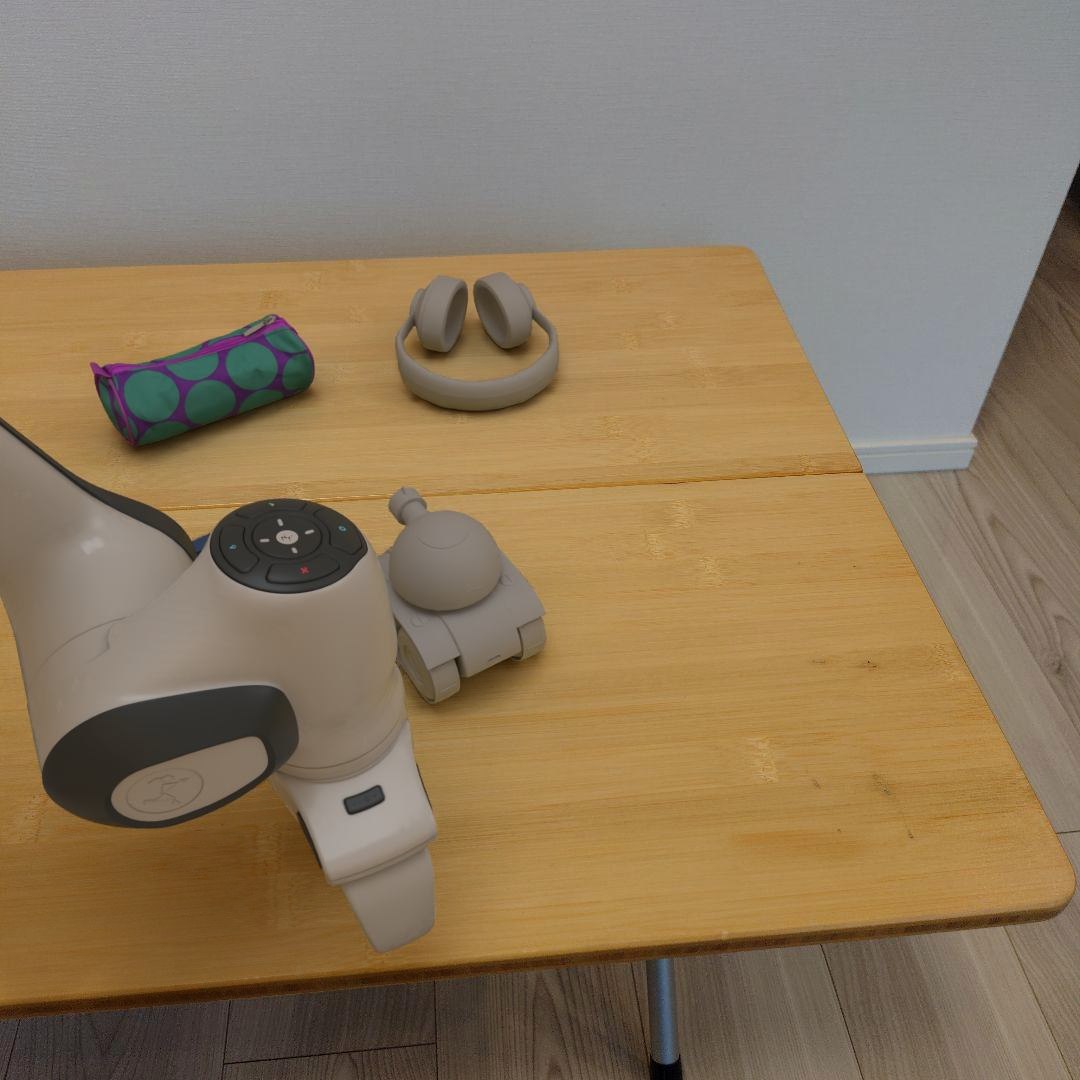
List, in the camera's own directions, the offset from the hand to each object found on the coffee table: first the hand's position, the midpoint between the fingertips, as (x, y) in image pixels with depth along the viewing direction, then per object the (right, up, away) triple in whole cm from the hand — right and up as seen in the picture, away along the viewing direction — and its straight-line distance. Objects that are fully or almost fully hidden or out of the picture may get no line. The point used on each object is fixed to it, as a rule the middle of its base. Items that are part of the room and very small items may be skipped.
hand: (361, 845), depth 65 cm
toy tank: (+5, +13, +16) cm, 21 cm away
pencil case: (-23, +35, +37) cm, 56 cm away
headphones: (+5, +41, +45) cm, 61 cm away
